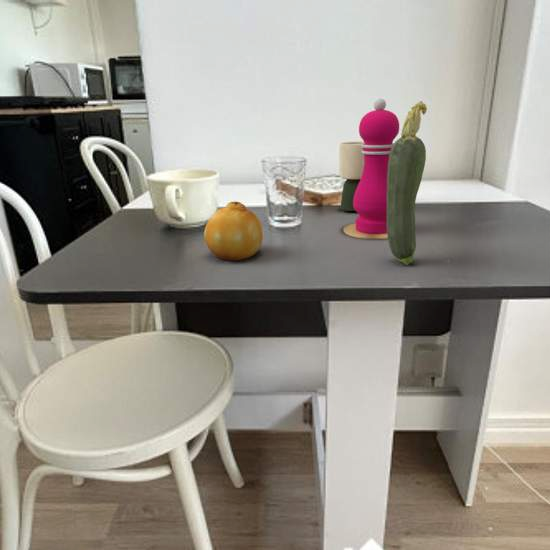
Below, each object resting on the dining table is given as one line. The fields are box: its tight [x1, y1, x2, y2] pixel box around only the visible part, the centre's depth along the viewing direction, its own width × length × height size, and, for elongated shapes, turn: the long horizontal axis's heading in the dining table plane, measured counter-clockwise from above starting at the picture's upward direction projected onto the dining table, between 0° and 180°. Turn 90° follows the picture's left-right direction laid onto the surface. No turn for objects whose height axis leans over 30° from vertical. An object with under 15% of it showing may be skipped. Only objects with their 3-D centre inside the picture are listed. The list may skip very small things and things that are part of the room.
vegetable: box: [387, 100, 428, 266], centre depth 55 cm, size 4×4×20 cm
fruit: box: [203, 200, 264, 261], centre depth 62 cm, size 8×8×8 cm
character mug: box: [338, 140, 364, 212], centre depth 84 cm, size 11×7×13 cm, turn 24°
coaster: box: [343, 222, 388, 240], centre depth 72 cm, size 10×10×1 cm
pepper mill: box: [353, 98, 400, 234], centre depth 69 cm, size 7×7×20 cm
